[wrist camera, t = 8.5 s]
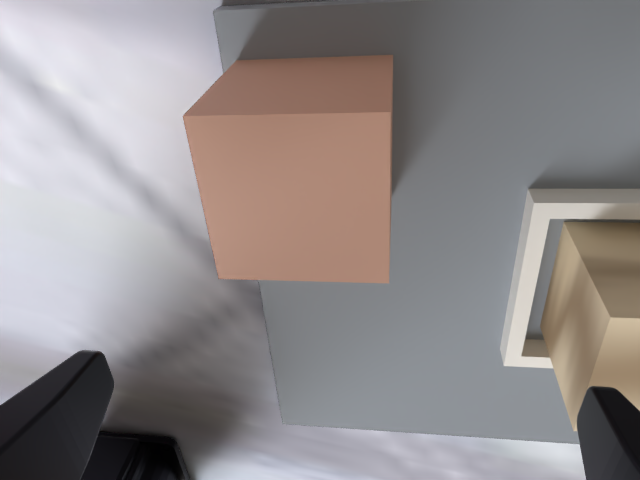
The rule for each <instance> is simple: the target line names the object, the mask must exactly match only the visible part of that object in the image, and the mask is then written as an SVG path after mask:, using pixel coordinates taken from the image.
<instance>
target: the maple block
mask: <svg viewBox="0 0 640 480" xmlns="http://www.w3.org/2000/svg"><path fill="white" fill-rule="evenodd" d="M540 328H541V331H542V334H543V337H544V340H545V343H546V347H547V350H548V353H549V356H550V359H551V362H552V365H553V369H554V372H555V375H556V378H557V381H558V384H559V387H560V390H561V394H562V397H563V400H564V403H565V406H566V409H567V412H568V415H569V419H570V422H571V425H572V428H573V431H577V415H578V412H579V410H580V407H581V404H582V401H583V399H584V396H585V393H586V391H587V389H588V388H589V387H590V386H604V387H613V388H615V389H617V390H618V391H620V392H621V393H622V394H623V395H624V396H625V397H626V398H627V399H628V400H629V401H630V402H631V403H632V404H633V405H634V406H635V407H636V408H637V409H638V410H639V411H640V223H624V222H563V227H562V231H561V235H560V240H559V244H558V249H557V253H556V257H555V262H554V266H553V271H552V275H551V279H550V284H549V288H548V293H547V297H546V301H545V306H544V310H543V315H542V319H541V323H540Z"/></svg>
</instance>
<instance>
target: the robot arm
mask: <svg viewBox="0 0 640 480" xmlns="http://www.w3.org/2000/svg"><path fill="white" fill-rule="evenodd" d="M113 388H114V380H113V376H112V374H111V371H110V369H109V366H108V363H107V361H106V358H105V356H104V354H103V353H102V352H100V351H91V350H82V351H79V352H77V353H75V354H74V355H73V356H71V357H70V358H68V359H67V360H65V361H64V362H62V363H61V364H59V365H58V366H57V367H55V368H54V369H52V370H51V371H49V372H48V373H46V374H45V375H43V376H42V377H41V378H39V379H38V380H36V381H35V382H33V383H32V384H30V385H29V386H28V387H26V388H25V389H23V390H22V391H20V392H19V393H17V394H16V395H14V396H13V397H12V398H10V399H9V400H7V401H6V402H4V403H3V404H1V405H0V480H190V478H189V475H188V472H187V470H186V467H185V464H184V461H183V458H182V456H181V453H180V450H179V447H178V444H177V442H176V441H175V440H174V439H172V438H169V437H157V436H144V435H130V434H117V433H103V432H99V430H100V427H101V424H102V421H103V418H104V415H105V413H106V410H107V407H108V404H109V401H110V398H111V395H112V392H113ZM577 431H578V437H579V442H580V448H581V453H582V459H583V464H584V470H585V475H586V480H640V411H639V410H638V409H637V408H636V407H635V406H634V405H633V404H632V403H631V402H630V401H629V400H628V399H627V398H626V397H625V396H624V395H623V394H622V393H621V392H620V391H618V390H617V389H615V388H613V387H604V386H590V387H589V388H588V389H587V391H586V393H585V396H584V399H583V401H582V404H581V407H580V410H579V412H578V415H577Z"/></svg>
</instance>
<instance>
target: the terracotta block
mask: <svg viewBox="0 0 640 480" xmlns="http://www.w3.org/2000/svg"><path fill="white" fill-rule="evenodd" d="M392 112H393V55H371V56H343V57H315V58H287V59H259V60H236V61H235V62H234V63H233V64H232V65H231V66H230V67H229V68H228V69H227V70H226V72H225V73H224V74H223V75H222V76H221V77H220V78H219V79H218V80H217V81H216V82H215V83H214V84H213V85H212V86H211V87H210V88H209V89H208V90H207V91H206V92H205V93H204V94H203V96H202V97H201V98H200V99H199V100H198V101H197V102H196V103H195V104H194V105H193V106H192V107H191V108H190V109H189V110H188V111H187V112H186V113H185V114H184V115H183V120H184V124H185V129H186V133H187V138H188V142H189V147H190V152H191V156H192V161H193V165H194V170H195V174H196V179H197V183H198V188H199V192H200V197H201V201H202V206H203V210H204V215H205V219H206V224H207V228H208V233H209V237H210V242H211V246H212V251H213V255H214V260H215V264H216V269H217V273H218V278H219V279H241V280H278V281H315V282H352V283H389V271H390V236H391V201H392Z"/></svg>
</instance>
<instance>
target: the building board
mask: <svg viewBox="0 0 640 480" xmlns="http://www.w3.org/2000/svg"><path fill="white" fill-rule="evenodd" d="M213 15H214V20H215V26H216V32H217V38H218V44H219V50H220V56H221V62H222V68H223V74H224V73H225V72H226V70H227V69H228V68H229V67H230V66H231V65H232V64H233V63H234V62H235V61H236V60H259V59H287V58H315V57H343V56H371V55H393V112H392V201H391V236H390V271H389V283H352V282H315V281H278V280H258V282H259V287H260V293H261V299H262V305H263V311H264V317H265V323H266V329H267V335H268V341H269V347H270V353H271V359H272V365H273V371H274V376H275V382H276V388H277V394H278V400H279V406H280V412H281V418H282V424H288V425H303V426H318V427H333V428H348V429H362V430H377V431H392V432H407V433H422V434H437V435H451V436H466V437H481V438H496V439H511V440H525V441H540V442H555V443H570V444H580V442H579V437H578V431H573V428H572V425H571V422H570V419H569V415H568V412H567V409H566V406H565V403H564V400H563V397H562V394H561V390H560V387H559V384H558V381H557V378H556V375H555V372H554V369H553V365H552V362H551V359H550V356H549V353H548V350H547V347H546V343H545V340H544V337H543V334H542V331H541V328H540V323H541V319H542V315H543V310H544V306H545V301H546V297H547V293H548V288H549V284H550V279H551V275H552V271H553V266H554V262H555V257H556V253H557V249H558V244H559V240H560V235H561V231H562V227H563V222H624V223H640V0H330V1H311V2H291V3H271V4H252V5H232V6H220V7H218V8H217V9H215V10H214V11H213Z"/></svg>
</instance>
